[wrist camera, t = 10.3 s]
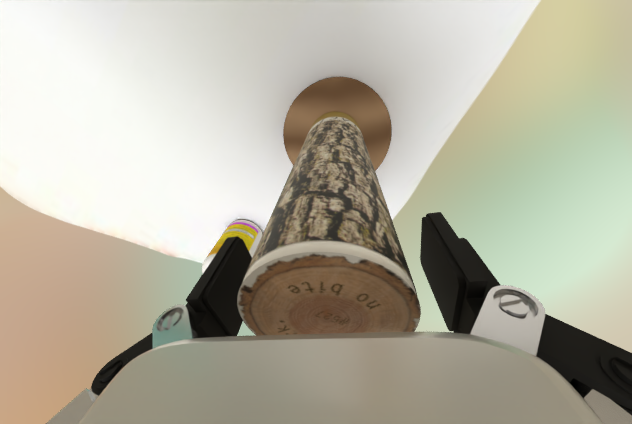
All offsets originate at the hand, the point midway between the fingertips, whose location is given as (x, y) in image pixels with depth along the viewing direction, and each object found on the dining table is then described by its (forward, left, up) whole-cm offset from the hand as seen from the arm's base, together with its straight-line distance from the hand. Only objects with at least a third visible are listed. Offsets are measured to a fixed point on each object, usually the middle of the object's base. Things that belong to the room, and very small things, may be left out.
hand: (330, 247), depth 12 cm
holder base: (0, 0, -22) cm, 22 cm away
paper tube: (0, 0, -21) cm, 21 cm away
